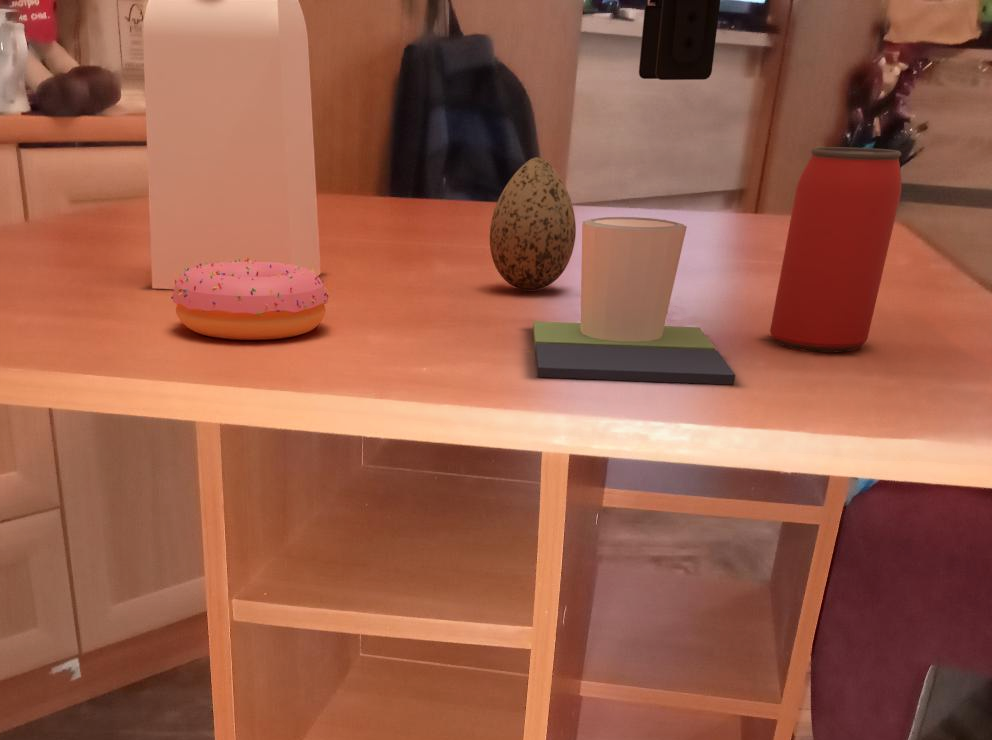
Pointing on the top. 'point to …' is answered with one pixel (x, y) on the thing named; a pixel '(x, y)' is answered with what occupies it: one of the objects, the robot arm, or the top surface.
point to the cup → (628, 276)
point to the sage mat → (572, 336)
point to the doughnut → (250, 300)
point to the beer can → (836, 248)
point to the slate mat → (632, 364)
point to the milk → (228, 135)
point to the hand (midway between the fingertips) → (672, 78)
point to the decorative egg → (533, 227)
